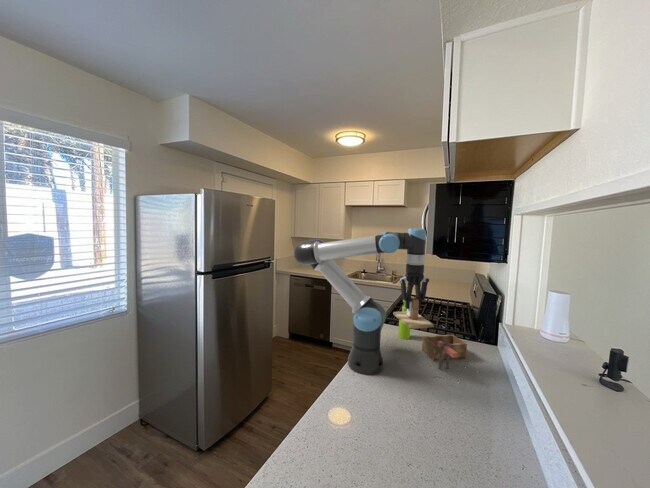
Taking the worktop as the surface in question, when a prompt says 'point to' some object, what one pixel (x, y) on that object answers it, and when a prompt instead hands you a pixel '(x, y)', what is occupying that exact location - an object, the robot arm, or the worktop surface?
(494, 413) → the worktop surface
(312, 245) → the robot arm
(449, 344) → the toolbox
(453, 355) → the red bar
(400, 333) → the soap dispenser
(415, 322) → the wooden board with post
